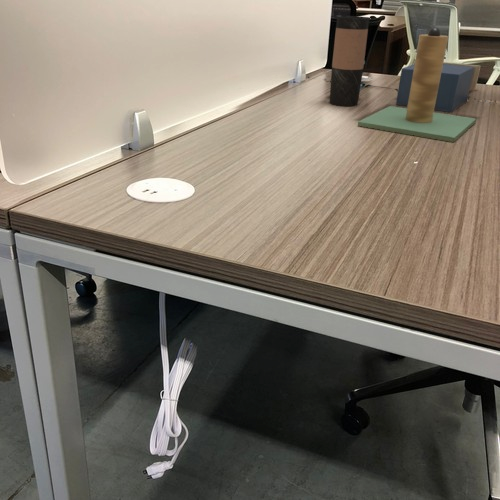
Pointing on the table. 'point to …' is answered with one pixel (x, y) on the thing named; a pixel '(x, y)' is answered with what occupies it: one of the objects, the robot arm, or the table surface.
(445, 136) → the mat
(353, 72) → the travel mug
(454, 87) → the cabinet
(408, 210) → the table surface
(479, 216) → the table surface
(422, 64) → the pepper mill
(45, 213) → the table surface
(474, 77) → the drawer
